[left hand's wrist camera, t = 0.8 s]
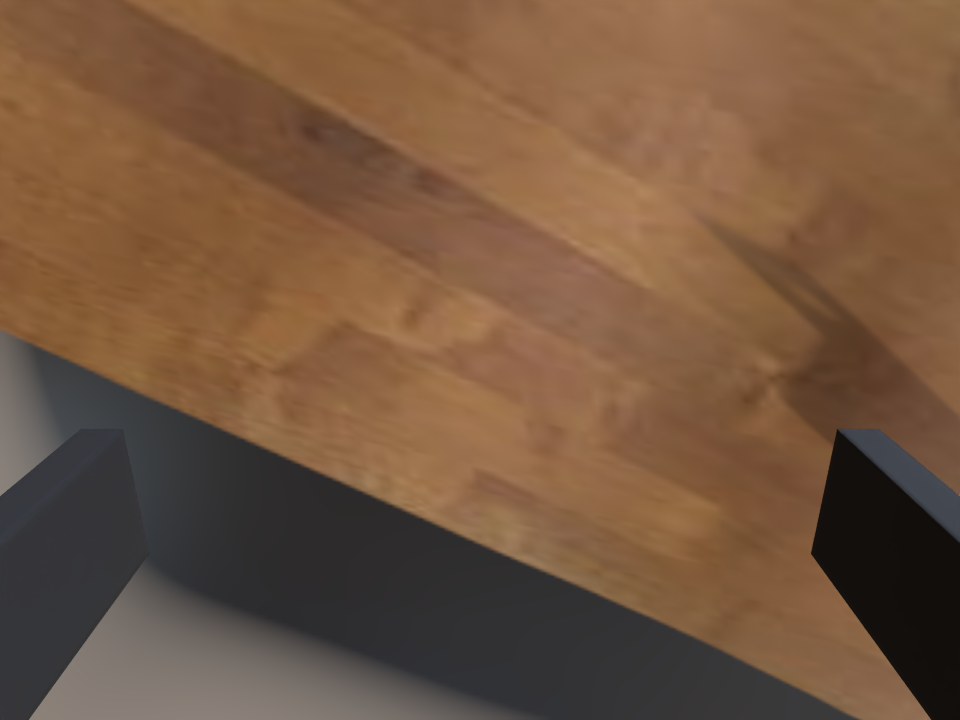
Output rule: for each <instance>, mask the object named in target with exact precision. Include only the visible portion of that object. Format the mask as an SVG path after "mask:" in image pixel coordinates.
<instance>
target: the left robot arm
mask: <svg viewBox="0 0 960 720" xmlns="http://www.w3.org/2000/svg"><path fill="white" fill-rule="evenodd" d="M148 554H149V551H148V547H147V542H146V537H145V532H144V528H143V523H142V518H141V513H140V509H139V504H138V499H137V494H136V490H135V485H134V480H133V475H132V471H131V466H130V461H129V456H128V451H127V447H126V442H125V437H124V432H123V429H81V430H79V431H78V432H77V433H76V434H75V435H73V436H72V437H71V438H70V439H69V440H67V441H66V442H65V443H64V444H63V445H61V446H60V447H59V448H58V449H57V450H55V451H54V452H53V453H52V454H51V455H49V456H48V457H47V458H46V459H45V460H43V461H42V462H41V463H40V464H39V465H37V466H36V467H35V468H34V469H33V470H31V471H30V472H29V473H28V474H27V475H25V476H24V477H23V478H22V479H21V480H19V481H18V482H17V483H16V484H14V485H13V486H12V487H11V488H10V489H8V490H7V491H6V492H5V493H4V494H2V495H1V496H0V720H29V719H30V717H31V716H32V714H33V713H34V712H35V710H36V709H37V707H38V706H39V705H40V703H41V702H42V701H43V699H44V698H45V696H46V695H47V694H48V692H49V691H50V690H51V688H52V687H53V685H54V684H55V683H56V681H57V680H58V679H59V677H60V676H61V674H62V673H63V672H64V670H65V669H66V668H67V666H68V665H69V663H70V662H71V661H72V659H73V658H74V656H75V655H76V654H77V652H78V651H79V650H80V648H81V647H82V645H83V644H84V643H85V641H86V640H87V639H88V637H89V636H90V634H91V633H92V632H93V630H94V629H95V627H96V626H97V625H98V623H99V622H100V621H101V619H102V618H103V616H104V615H105V614H106V612H107V611H108V610H109V608H110V607H111V605H112V604H113V603H114V601H115V600H116V599H117V597H118V596H119V594H120V593H121V592H122V590H123V589H124V587H125V586H126V585H127V583H128V582H129V581H130V579H131V578H132V576H133V575H134V574H135V572H136V571H137V570H138V568H139V567H140V565H141V564H142V563H143V561H144V560H145V559H146V557H147V556H148ZM811 554H812V556H813V557H814V559H815V560H816V561H817V563H818V564H819V565H820V567H821V568H822V570H823V571H824V572H825V574H826V575H827V577H828V578H829V579H830V581H831V582H832V583H833V585H834V586H835V588H836V589H837V590H838V592H839V593H840V594H841V596H842V597H843V599H844V600H845V601H846V603H847V604H848V605H849V607H850V608H851V610H852V611H853V612H854V614H855V615H856V616H857V618H858V619H859V621H860V622H861V623H862V625H863V626H864V628H865V629H866V630H867V632H868V633H869V634H870V636H871V637H872V639H873V640H874V641H875V643H876V644H877V645H878V647H879V648H880V650H881V651H882V652H883V654H884V655H885V656H886V658H887V659H888V661H889V662H890V663H891V665H892V666H893V668H894V669H895V670H896V672H897V673H898V674H899V676H900V677H901V679H902V680H903V681H904V683H905V684H906V685H907V687H908V688H909V690H910V691H911V692H912V694H913V695H914V696H915V698H916V699H917V701H918V702H919V703H920V705H921V706H922V708H923V709H924V710H925V712H926V713H927V714H928V716H929V717H930V719H931V720H960V496H959V495H958V494H956V493H955V492H954V491H953V490H952V489H950V488H949V487H948V486H947V485H946V484H944V483H943V482H942V481H941V480H940V479H938V478H937V477H936V476H935V475H934V474H932V473H931V472H930V471H929V470H927V469H926V468H925V467H924V466H923V465H921V464H920V463H919V462H918V461H917V460H915V459H914V458H913V457H912V456H911V455H909V454H908V453H907V452H906V451H905V450H903V449H902V448H901V447H900V446H899V445H897V444H896V443H895V442H894V441H893V440H891V439H890V438H889V437H888V436H887V435H885V434H884V433H883V432H882V431H881V430H879V429H837V432H836V437H835V442H834V447H833V451H832V456H831V461H830V466H829V470H828V475H827V480H826V485H825V490H824V494H823V499H822V504H821V509H820V513H819V518H818V523H817V528H816V532H815V537H814V542H813V547H812V551H811Z"/></svg>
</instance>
